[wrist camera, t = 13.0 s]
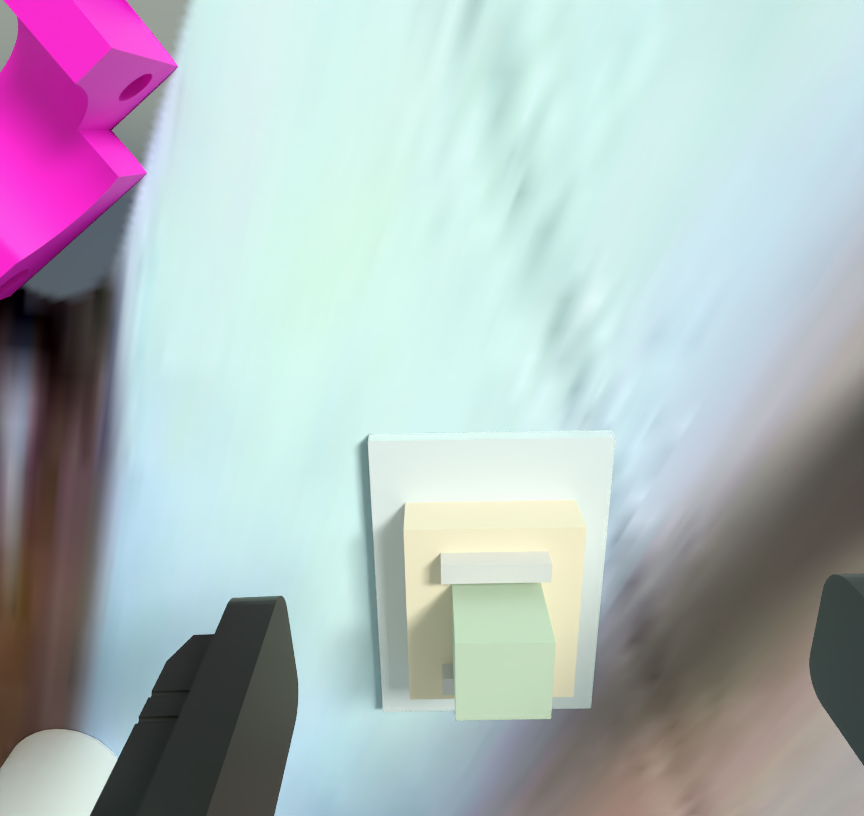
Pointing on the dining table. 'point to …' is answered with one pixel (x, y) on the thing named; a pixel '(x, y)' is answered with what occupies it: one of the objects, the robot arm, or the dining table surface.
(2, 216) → the toy block
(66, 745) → the mug
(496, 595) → the sage cube
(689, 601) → the dining table surface
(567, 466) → the base
